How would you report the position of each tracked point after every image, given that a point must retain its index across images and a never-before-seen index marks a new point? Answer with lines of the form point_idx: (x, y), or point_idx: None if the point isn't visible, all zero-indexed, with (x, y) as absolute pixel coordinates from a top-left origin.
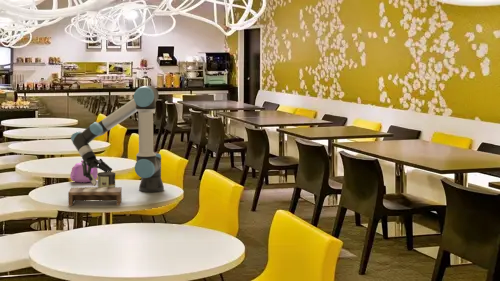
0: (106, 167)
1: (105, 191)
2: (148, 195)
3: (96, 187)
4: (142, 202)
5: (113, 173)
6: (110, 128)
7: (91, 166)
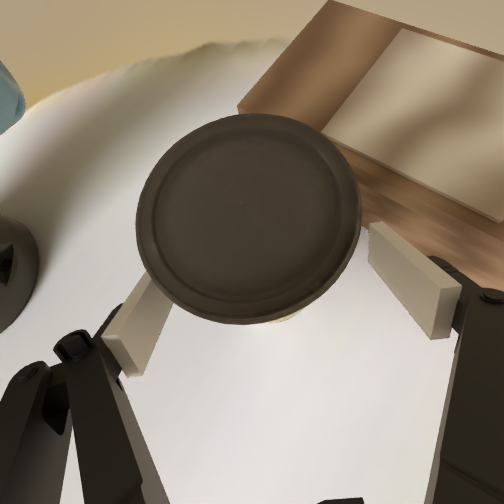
0: (40, 453)
1: (409, 32)
2: (88, 181)
3: (407, 161)
4: (208, 80)
5: (172, 175)
6: None
7: (452, 467)
